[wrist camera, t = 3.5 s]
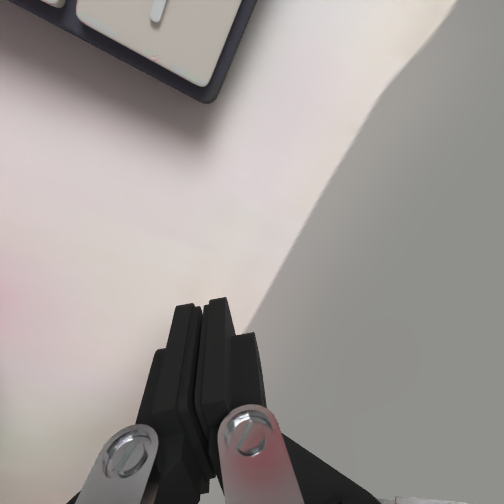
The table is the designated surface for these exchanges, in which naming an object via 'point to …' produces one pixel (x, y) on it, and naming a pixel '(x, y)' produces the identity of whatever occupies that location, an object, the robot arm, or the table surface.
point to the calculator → (159, 35)
